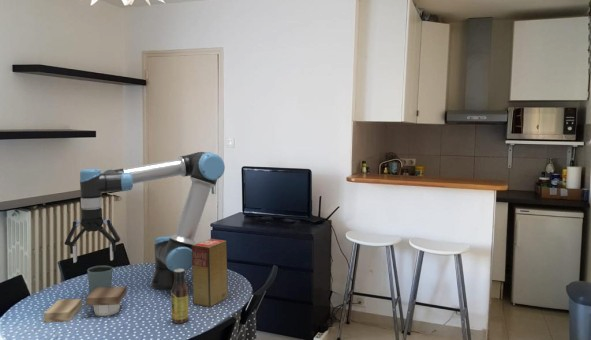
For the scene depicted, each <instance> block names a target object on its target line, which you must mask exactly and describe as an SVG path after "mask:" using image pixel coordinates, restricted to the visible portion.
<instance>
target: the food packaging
mask: <svg viewBox="0 0 591 340" xmlns="http://www.w3.org/2000/svg"><path fill="white" fill-rule="evenodd" d="M227 244H228V243H227V240H223V239H217V238H216V239H215V238H210V239H206V240H204V241H201V242H199V243H198V242H197V243H195V245H192V266H191V269H192V290H193V291H192V301H193V302H192V304H193V305H196V306H202V307H207V308H212V307H213V306H215V305H216V304H218V303H220V302H222V301H224V300H226V299H228V298H229V296H228V292H229V291H228V253H227V252H228V248H227Z"/></svg>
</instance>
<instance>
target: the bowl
mask: <svg viewBox="0 0 591 340" xmlns="http://www.w3.org/2000/svg"><path fill="white" fill-rule="evenodd" d="M120 308H121V302H120V303H119V305H94V306H93V312H94V315H95V316H97V317H109V316H113V315H116V314H117V313H119V312H120Z"/></svg>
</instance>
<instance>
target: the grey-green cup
mask: <svg viewBox="0 0 591 340" xmlns="http://www.w3.org/2000/svg"><path fill="white" fill-rule="evenodd" d="M113 269H114V268H113V266H110V265H95V266H92V267H89V268H88V269H86V271H87V279H88V280H87V281H88V291H89V294H90V293H91V292H92V291H93V290H94V289H95V288H96V287H112V280H113V271H114V270H113Z"/></svg>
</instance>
